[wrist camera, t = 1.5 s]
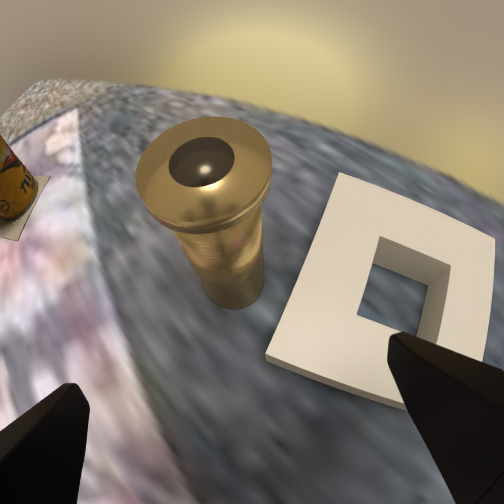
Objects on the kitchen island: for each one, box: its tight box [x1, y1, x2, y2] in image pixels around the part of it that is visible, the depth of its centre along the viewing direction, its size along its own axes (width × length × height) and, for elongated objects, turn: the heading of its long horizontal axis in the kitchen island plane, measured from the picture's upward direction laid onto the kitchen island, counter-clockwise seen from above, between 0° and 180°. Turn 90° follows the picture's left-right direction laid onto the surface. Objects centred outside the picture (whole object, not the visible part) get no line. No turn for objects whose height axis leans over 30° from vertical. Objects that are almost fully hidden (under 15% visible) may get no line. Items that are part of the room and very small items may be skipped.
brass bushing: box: [136, 117, 272, 309], centre depth 18 cm, size 5×5×13 cm
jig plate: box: [265, 172, 495, 411], centre depth 20 cm, size 14×14×4 cm
